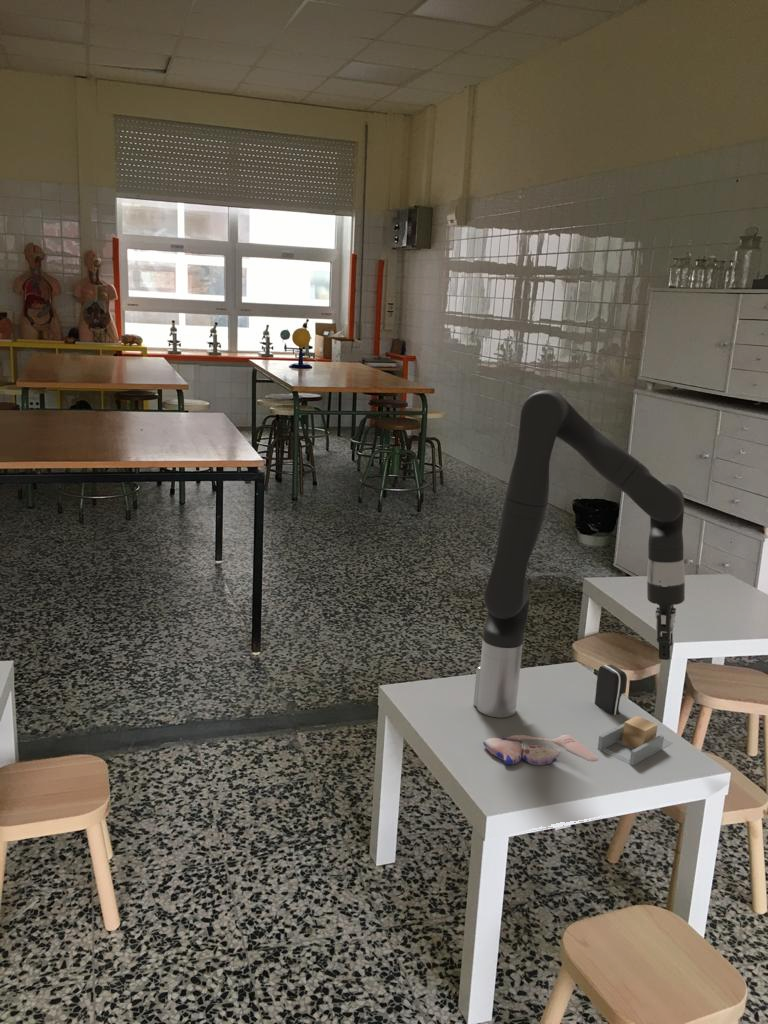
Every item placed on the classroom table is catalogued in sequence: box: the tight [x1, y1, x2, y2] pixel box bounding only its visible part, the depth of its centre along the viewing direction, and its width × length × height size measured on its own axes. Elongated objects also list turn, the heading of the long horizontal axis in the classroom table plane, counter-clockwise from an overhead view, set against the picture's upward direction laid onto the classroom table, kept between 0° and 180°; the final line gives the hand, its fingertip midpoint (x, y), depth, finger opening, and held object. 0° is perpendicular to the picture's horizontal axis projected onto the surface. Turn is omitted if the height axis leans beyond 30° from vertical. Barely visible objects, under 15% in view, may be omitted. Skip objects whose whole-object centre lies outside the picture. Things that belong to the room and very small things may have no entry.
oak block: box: [622, 715, 658, 749], centre depth 183 cm, size 5×5×5 cm
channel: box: [597, 722, 673, 766], centre depth 183 cm, size 9×16×4 cm, turn 132°
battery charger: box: [594, 664, 628, 716], centre depth 200 cm, size 7×4×11 cm, turn 25°
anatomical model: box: [482, 733, 600, 766], centre depth 179 cm, size 20×3×15 cm
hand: (665, 652), depth 182 cm, fingers open, 8 cm apart
